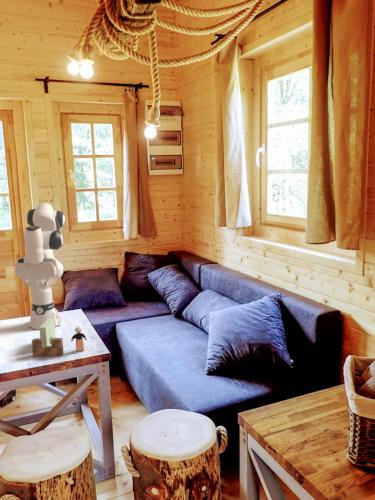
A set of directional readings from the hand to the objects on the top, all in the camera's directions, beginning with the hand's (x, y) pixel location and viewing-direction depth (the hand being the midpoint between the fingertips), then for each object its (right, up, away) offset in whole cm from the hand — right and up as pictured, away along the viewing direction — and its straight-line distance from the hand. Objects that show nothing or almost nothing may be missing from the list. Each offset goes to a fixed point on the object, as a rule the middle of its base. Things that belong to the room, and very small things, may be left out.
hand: (36, 285), depth 217 cm
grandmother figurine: (+22, -33, -3) cm, 40 cm away
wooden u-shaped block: (+8, -33, -8) cm, 35 cm away
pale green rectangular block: (+4, -32, +5) cm, 32 cm away
